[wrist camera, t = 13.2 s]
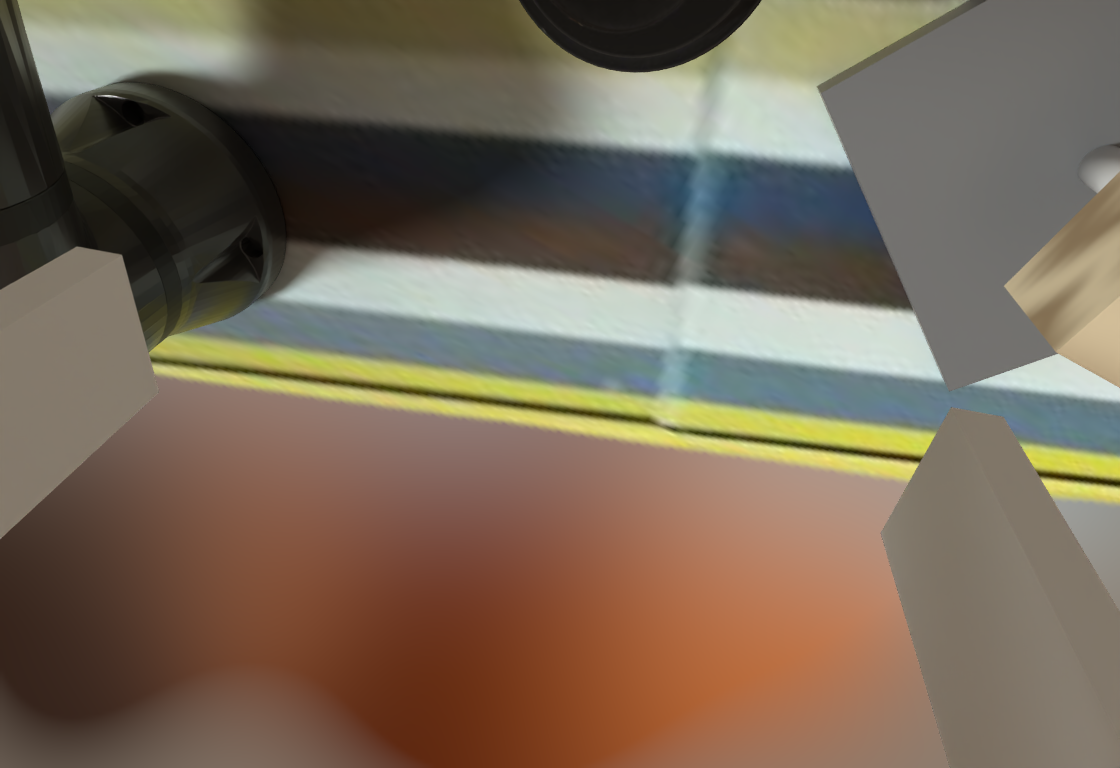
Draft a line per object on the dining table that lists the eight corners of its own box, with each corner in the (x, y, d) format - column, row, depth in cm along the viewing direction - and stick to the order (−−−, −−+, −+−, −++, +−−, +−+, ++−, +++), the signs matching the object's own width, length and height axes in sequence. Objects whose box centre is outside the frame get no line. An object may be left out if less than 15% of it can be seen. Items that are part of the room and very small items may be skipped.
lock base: (942, 377, 44) (972, 437, 39) (816, 86, 36) (835, 116, 31) (1361, 227, 35) (1467, 280, 30) (1321, -199, 27) (1457, -220, 22)
